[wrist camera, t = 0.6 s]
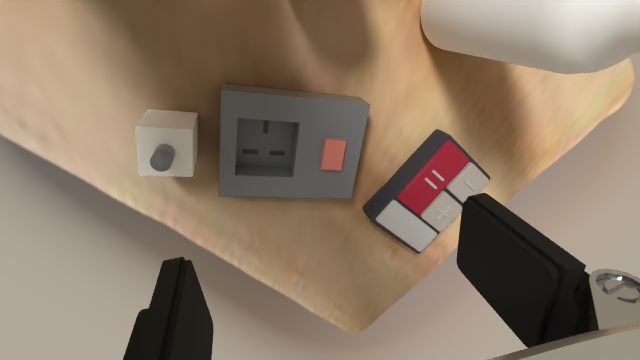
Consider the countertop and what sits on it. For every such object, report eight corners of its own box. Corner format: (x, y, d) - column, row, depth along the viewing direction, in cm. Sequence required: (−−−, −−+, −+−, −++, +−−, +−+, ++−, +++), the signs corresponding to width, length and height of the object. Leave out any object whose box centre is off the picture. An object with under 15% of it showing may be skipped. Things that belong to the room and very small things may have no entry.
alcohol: (410, -21, 37) (848, -88, 11) (484, -49, 37) (1082, -181, 11) (423, 60, 41) (757, 154, 15) (489, 34, 41) (927, 81, 15)
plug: (151, 152, 39) (132, 186, 31) (148, 108, 37) (127, 134, 29) (198, 154, 40) (190, 187, 33) (197, 112, 38) (189, 138, 31)
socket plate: (219, 182, 42) (218, 199, 38) (222, 83, 37) (220, 91, 33) (343, 186, 46) (352, 201, 43) (360, 97, 41) (372, 106, 38)
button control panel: (495, 180, 48) (421, 258, 50) (475, 169, 51) (407, 241, 54) (452, 134, 43) (372, 223, 45) (433, 125, 46) (360, 207, 49)
